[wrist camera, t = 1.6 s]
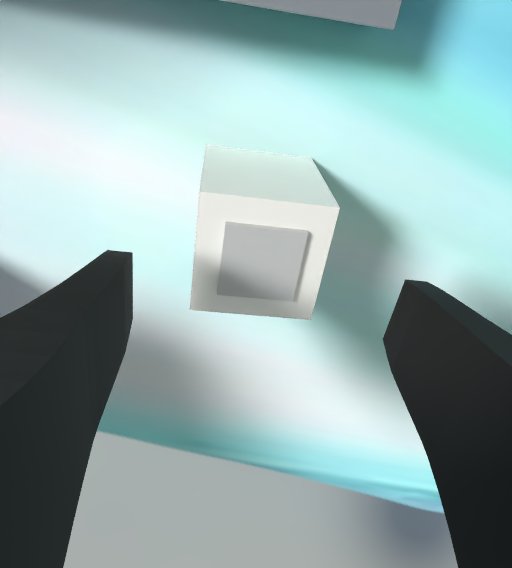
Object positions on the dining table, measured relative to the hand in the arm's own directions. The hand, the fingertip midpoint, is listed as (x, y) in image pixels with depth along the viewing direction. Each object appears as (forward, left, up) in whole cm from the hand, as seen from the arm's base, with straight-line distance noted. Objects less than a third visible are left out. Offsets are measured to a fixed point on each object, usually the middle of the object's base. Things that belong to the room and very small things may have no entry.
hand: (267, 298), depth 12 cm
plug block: (0, 0, -7) cm, 7 cm away
